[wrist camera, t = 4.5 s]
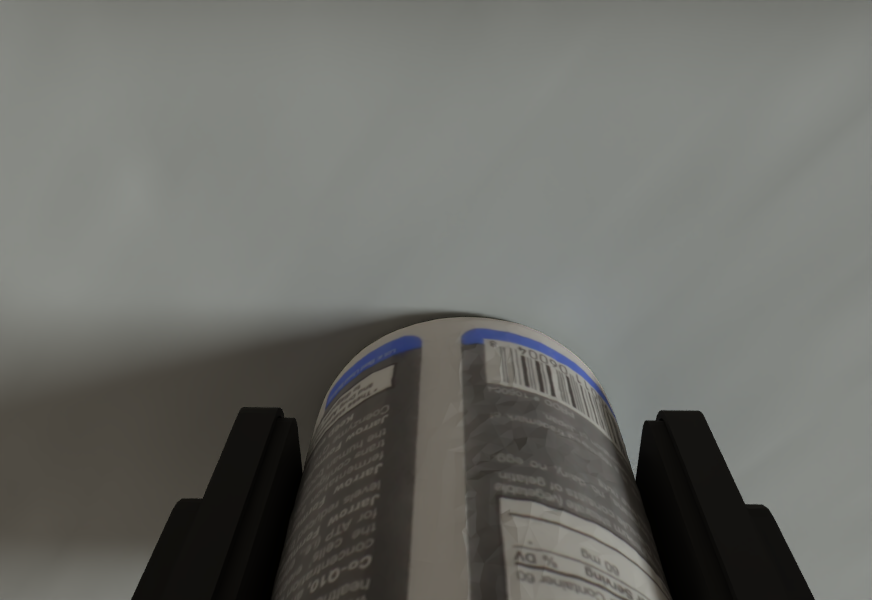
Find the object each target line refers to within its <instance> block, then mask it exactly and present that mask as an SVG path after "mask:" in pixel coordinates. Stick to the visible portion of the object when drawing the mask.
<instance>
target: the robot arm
mask: <svg viewBox="0 0 872 600" xmlns="http://www.w3.org/2000/svg"><path fill="white" fill-rule="evenodd" d="M302 474H303V473H302V463H301V454H300V445H299V436H298V427H297V422H296V419H295V418H284V413H283V411H282V409H281V408H257V407H243V408H242V409H241V410H240V411H239V413H238V416H237V418H236V420H235V423H234V425H233V428H232V430H231V432H230V435H229V437H228V439H227V442H226V444H225V447H224V449H223V451H222V454H221V456H220V458H219V461H218V463H217V466H216V468H215V470H214V473H213V475H212V478H211V480H210V482H209V485H208V487H207V489H206V492H205V494H204V497H203V499H181V500H180V501H178V502H177V504H176V505H175V507H174V508H173V510H172V512H171V514H170V517H169V519H168V521H167V523H166V525H165V527H164V530H163V532H162V534H161V536H160V538H159V540H158V543H157V545H156V547H155V549H154V551H153V553H152V556H151V558H150V560H149V562H148V564H147V566H146V569H145V571H144V573H143V575H142V577H141V579H140V582H139V584H138V586H137V588H136V590H135V592H134V595H133V597H132V599H131V600H271V596H272V591H273V586H274V581H275V577H276V573H277V570H278V567H279V562H280V559H281V554H282V551H283V548H284V542H285V538H286V534H287V528H288V523H289V519H290V516H291V513H292V510H293V508H294V504H295V500H296V495H297V492H298V488H299V485H300V482H301V477H302ZM635 482H636V485H637V487H638V489H639V491H640V495H641V499H642V502H643V506H644V509H645V512H646V515H647V518H648V521H649V523H650V526H651V530H652V534H653V538H654V541H655V544H656V548H657V551H658V554H659V558H660V561H661V564H662V567H663V571H664V574H665V577H666V581H667V584H668V587H669V589H670V593H671V597H672V599H673V600H815V599H814V597H813V595H812V593H811V591H810V589H809V587H808V585H807V583H806V581H805V579H804V577H803V575H802V573H801V571H800V569H799V567H798V565H797V563H796V561H795V559H794V557H793V555H792V553H791V551H790V549H789V547H788V545H787V543H786V541H785V539H784V537H783V535H782V533H781V531H780V529H779V527H778V525H777V523H776V521H775V519H774V517H773V515H772V514H771V512H770V511H769V509H768V508H766V507H765V506H764V505H756V504H745V503H744V501H743V499H742V497H741V495H740V492H739V490H738V488H737V486H736V484H735V482H734V480H733V477H732V475H731V473H730V471H729V469H728V467H727V464H726V462H725V460H724V458H723V456H722V454H721V452H720V449H719V447H718V445H717V443H716V441H715V439H714V437H713V434H712V432H711V430H710V428H709V426H708V424H707V422H706V419H705V417H704V415H703V414H702V412H700V411H666V410H661V411H659V412H658V415H657V418H656V421H647V420H646V421H645V422H644V425H643V430H642V437H641V444H640V452H639V459H638V466H637V474H636V481H635Z"/></svg>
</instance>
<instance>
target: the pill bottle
mask: <svg viewBox="0 0 872 600" xmlns="http://www.w3.org/2000/svg"><path fill="white" fill-rule="evenodd" d="M271 600H673V599H672V597H671V593H670V589H669V587H668V584H667V581H666V577H665V574H664V571H663V567H662V564H661V561H660V558H659V554H658V551H657V548H656V544H655V541H654V538H653V534H652V530H651V526H650V523H649V521H648V518H647V515H646V512H645V509H644V506H643V502H642V499H641V495H640V491H639V489H638V487H637V485H636V482H635V478H634V475H633V472H632V469H631V465H630V461H629V459H628V456H627V452H626V447H625V444H624V442H623V439H622V436H621V432H620V429H619V426H618V423H617V421H616V418H615V415H614V412H613V409H612V407H611V404H610V402H609V400H608V398H607V396H606V394H605V392H604V390H603V388H602V386H601V385H600V383H599V382H598V380H597V379H596V377H595V376H594V374H593V373H592V371H591V370H590V369H589V368H588V367H587V366H586V365H585V364H584V363H583V362H582V361H581V360H580V359H579V358H578V357H577V356H576V355H575V354H574V353H572V352H571V351H570V350H569V349H567V348H566V347H564V346H563V345H561V344H560V343H558V342H557V341H555V340H554V339H552V338H550V337H549V336H547V335H545V334H543V333H541V332H539V331H537V330H535V329H532V328H529V327H527V326H524V325H521V324H518V323H513V322H508V321H502V320H497V319H490V318H478V317H454V318H443V319H436V320H431V321H427V322H422V323H418V324H414V325H411V326H408V327H405V328H402V329H399V330H396V331H394V332H392V333H390V334H387V335H385V336H383V337H381V338H380V339H378V340H377V341H375V342H373V343H372V344H370V345H368V346H367V347H365V348H364V349H363V350H362V351H361V352H360V353H359V354H357V355H356V356H355V357H354V358H353V359H352V360H351V361H350V362H349V363H348V364H347V365H346V366H345V368H344V369H343V370H342V371H341V373H340V374H339V375H338V377H337V378H336V379H335V381H334V382H333V384H332V386H331V387H330V389H329V391H328V392H327V394H326V396H325V399H324V401H323V404H322V407H321V409H320V412H319V415H318V418H317V421H316V424H315V428H314V432H313V435H312V439H311V443H310V447H309V451H308V454H307V458H306V462H305V466H304V471H303V474H302V477H301V482H300V485H299V488H298V492H297V495H296V500H295V504H294V508H293V510H292V513H291V516H290V519H289V523H288V528H287V534H286V538H285V542H284V548H283V551H282V554H281V559H280V562H279V567H278V570H277V573H276V577H275V581H274V586H273V591H272V596H271Z"/></svg>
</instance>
